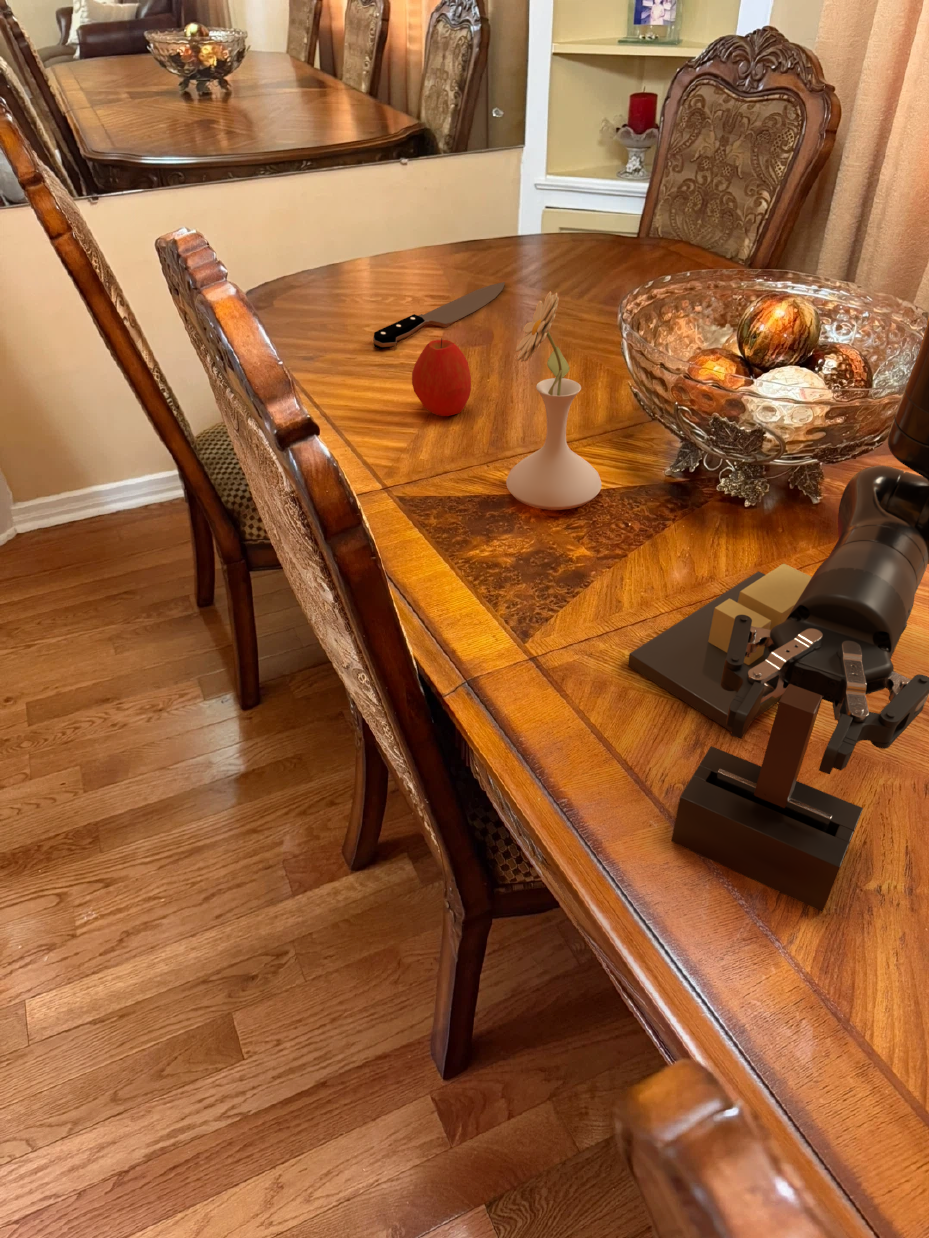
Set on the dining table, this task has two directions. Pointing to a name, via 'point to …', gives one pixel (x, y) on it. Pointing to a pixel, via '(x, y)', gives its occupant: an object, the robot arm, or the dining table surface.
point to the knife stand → (764, 832)
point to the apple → (442, 378)
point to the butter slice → (724, 626)
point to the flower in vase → (552, 431)
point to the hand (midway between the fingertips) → (782, 744)
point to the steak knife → (436, 316)
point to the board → (695, 661)
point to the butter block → (775, 593)
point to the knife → (783, 761)
